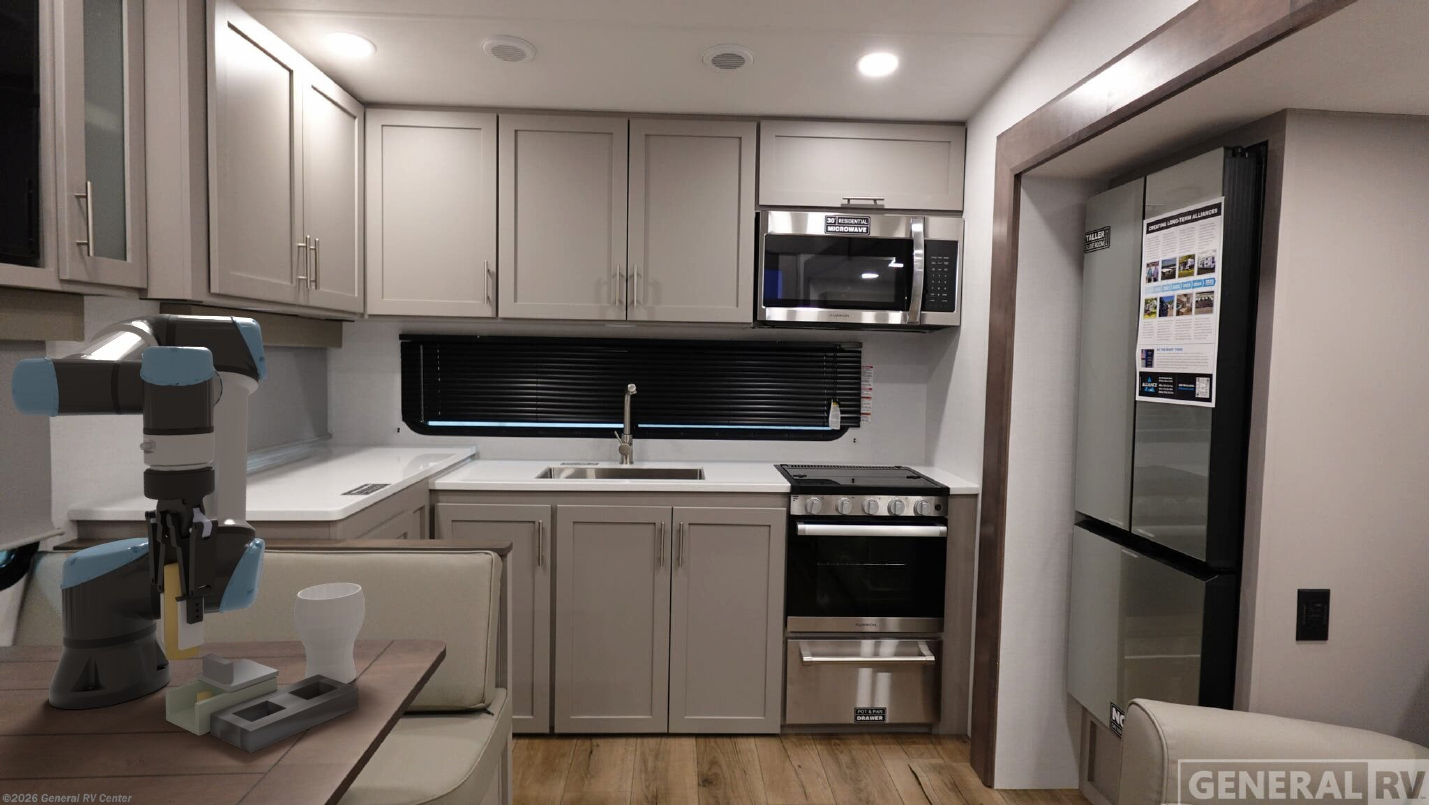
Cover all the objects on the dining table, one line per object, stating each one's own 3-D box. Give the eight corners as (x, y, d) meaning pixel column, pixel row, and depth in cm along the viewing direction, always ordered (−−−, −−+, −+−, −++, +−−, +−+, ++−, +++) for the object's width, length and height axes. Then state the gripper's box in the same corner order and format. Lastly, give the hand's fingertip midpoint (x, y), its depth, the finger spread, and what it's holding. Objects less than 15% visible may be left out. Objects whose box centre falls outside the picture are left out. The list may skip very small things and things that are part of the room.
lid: (197, 679, 113) (197, 654, 113) (245, 663, 119) (245, 640, 119) (230, 692, 108) (230, 666, 108) (278, 675, 114) (278, 651, 114)
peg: (160, 656, 97) (158, 565, 97) (190, 647, 100) (189, 559, 100) (174, 662, 95) (172, 570, 95) (204, 653, 99) (203, 563, 98)
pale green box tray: (166, 720, 109) (165, 690, 109) (244, 692, 119) (243, 665, 119) (198, 735, 105) (198, 705, 105) (277, 705, 114) (276, 677, 114)
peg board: (210, 734, 105) (210, 713, 105) (318, 692, 119) (318, 674, 119) (250, 753, 100) (250, 731, 100) (358, 707, 114) (358, 688, 114)
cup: (336, 696, 118) (335, 603, 117) (278, 690, 120) (277, 597, 119) (379, 670, 128) (378, 584, 128) (325, 664, 130) (324, 579, 130)
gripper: (114, 463, 97) (118, 639, 99) (181, 475, 89) (184, 667, 91) (178, 457, 104) (181, 622, 105) (246, 468, 96) (248, 647, 97)
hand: (182, 642), depth 98 cm, fingers closed on peg, 3 cm apart
